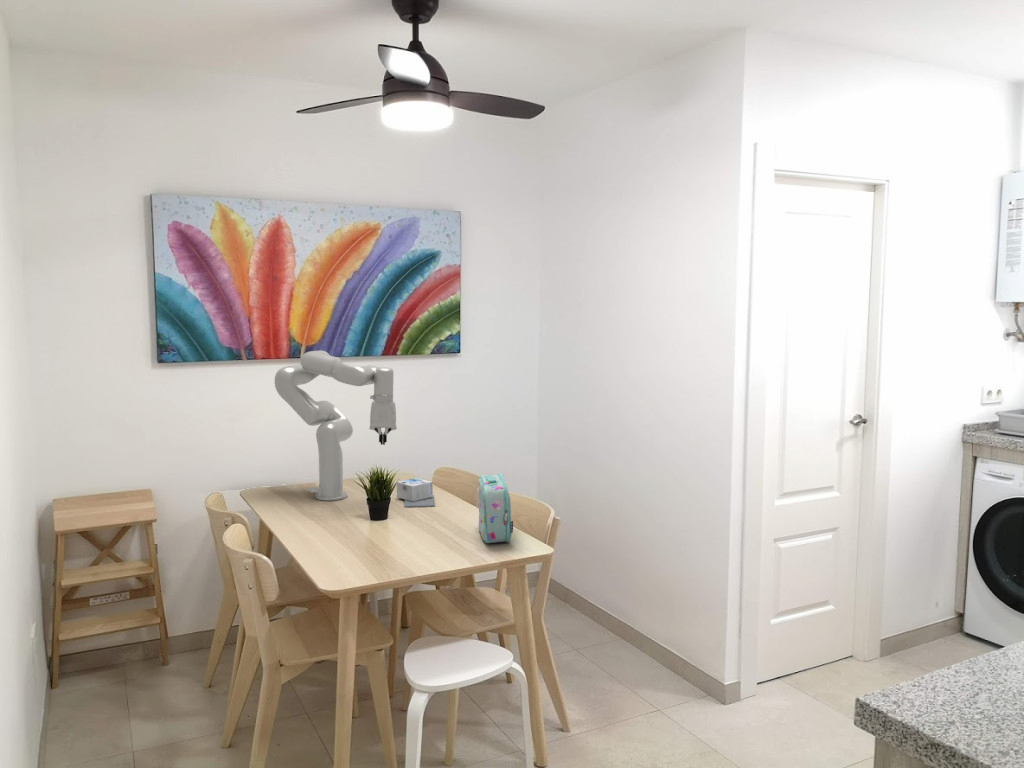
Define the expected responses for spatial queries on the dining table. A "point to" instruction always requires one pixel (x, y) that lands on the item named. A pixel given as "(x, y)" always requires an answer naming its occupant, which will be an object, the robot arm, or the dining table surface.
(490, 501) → the lunch box
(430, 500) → the mat
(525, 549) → the dining table surface
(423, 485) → the light bulb box
